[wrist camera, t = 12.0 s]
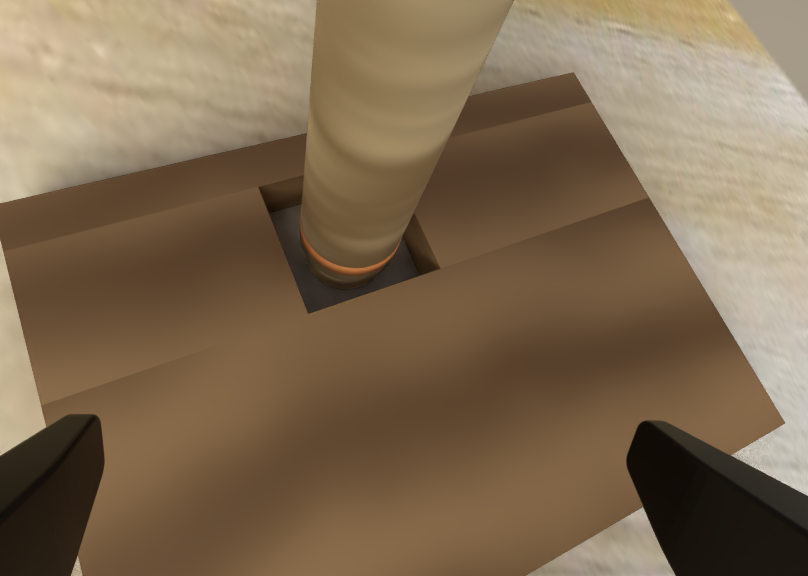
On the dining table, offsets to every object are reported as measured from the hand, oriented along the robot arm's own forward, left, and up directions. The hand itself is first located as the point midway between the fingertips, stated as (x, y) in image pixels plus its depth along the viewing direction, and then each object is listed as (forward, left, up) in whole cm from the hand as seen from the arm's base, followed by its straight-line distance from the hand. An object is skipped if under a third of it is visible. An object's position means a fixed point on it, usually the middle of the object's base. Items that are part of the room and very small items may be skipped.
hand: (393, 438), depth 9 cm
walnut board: (+3, -4, -9) cm, 11 cm away
